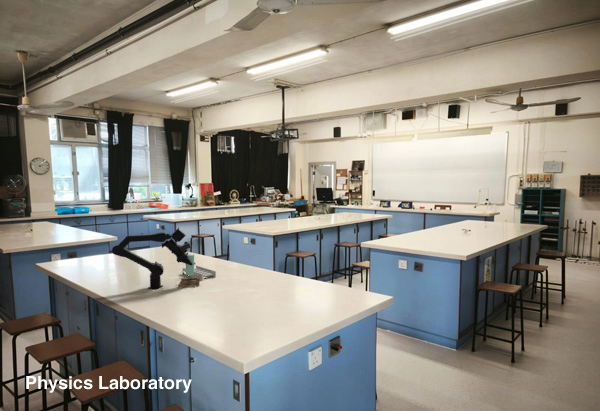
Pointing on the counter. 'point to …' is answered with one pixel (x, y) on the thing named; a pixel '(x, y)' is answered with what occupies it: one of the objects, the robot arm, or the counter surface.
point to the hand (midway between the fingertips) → (192, 264)
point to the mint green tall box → (190, 267)
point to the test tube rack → (202, 272)
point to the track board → (189, 282)
